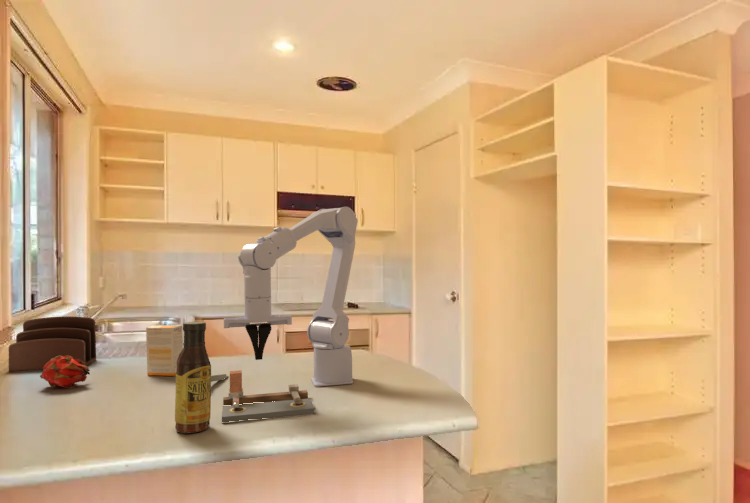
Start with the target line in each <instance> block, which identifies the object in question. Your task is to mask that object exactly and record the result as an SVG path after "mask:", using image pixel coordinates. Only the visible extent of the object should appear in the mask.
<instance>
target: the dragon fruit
mask: <svg viewBox="0 0 750 503" xmlns="http://www.w3.org/2000/svg"><path fill="white" fill-rule="evenodd" d="M81 364H82V365H81ZM90 372H91V370H90V369H89V367H88V365H87V366H85V365H84V362H83V361H81V360H80V359H73V357H71V356H69V355H66V356H64V357H63V356H61V355H59V356H56V357H55V358H52V359H51V360H50V361H49V362H47V363H46V364H45V366H44V367H43V369H42V371H41V374H40V375H39V377H40V379H43V380H45V381H46V382H48V385H49V386H50V388H51V389H53V388H57V387H62V388H66V389H73V388H76V387H78V385H76V383H81V382H82V383H83V382H85V381H86V380H87V378H88V376H87V375H90ZM74 384H75V385H74Z"/></svg>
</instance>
